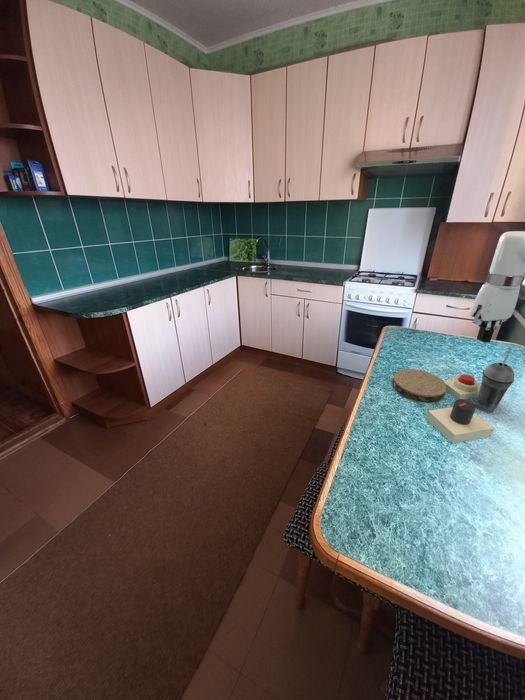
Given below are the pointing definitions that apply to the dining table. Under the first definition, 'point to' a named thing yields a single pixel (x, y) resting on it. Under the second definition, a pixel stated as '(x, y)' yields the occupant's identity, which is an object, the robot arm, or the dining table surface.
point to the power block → (462, 389)
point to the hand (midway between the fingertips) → (483, 340)
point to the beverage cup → (494, 385)
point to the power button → (466, 379)
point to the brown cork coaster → (419, 385)
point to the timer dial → (462, 411)
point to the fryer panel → (458, 426)
